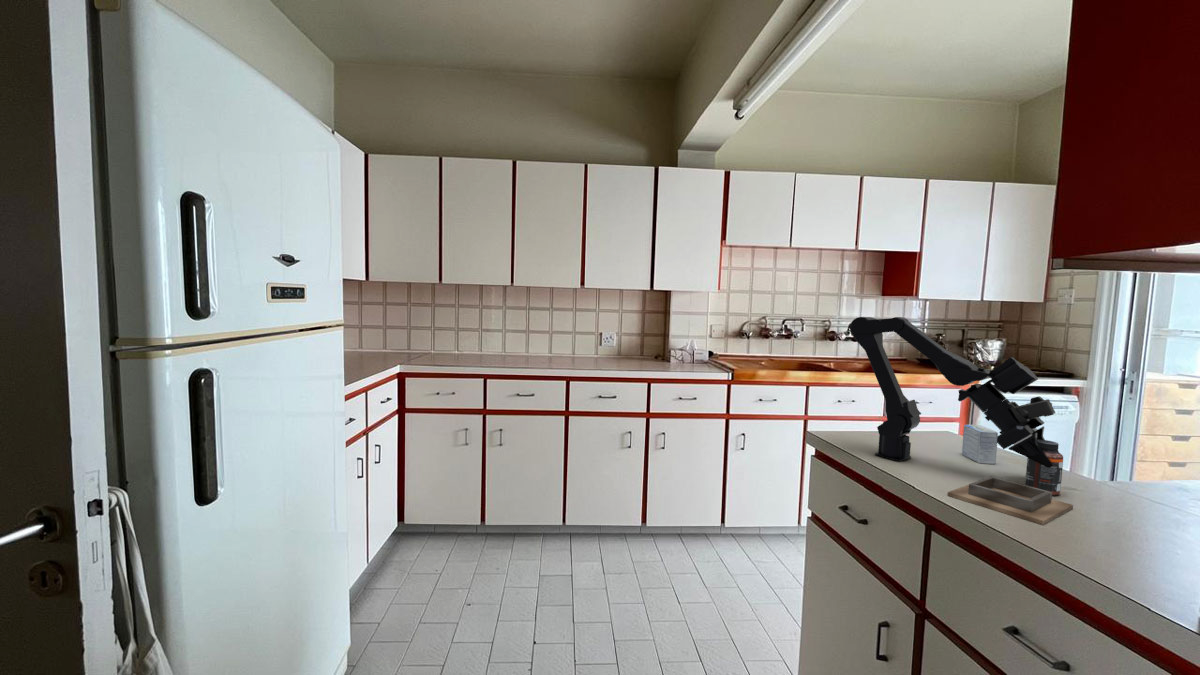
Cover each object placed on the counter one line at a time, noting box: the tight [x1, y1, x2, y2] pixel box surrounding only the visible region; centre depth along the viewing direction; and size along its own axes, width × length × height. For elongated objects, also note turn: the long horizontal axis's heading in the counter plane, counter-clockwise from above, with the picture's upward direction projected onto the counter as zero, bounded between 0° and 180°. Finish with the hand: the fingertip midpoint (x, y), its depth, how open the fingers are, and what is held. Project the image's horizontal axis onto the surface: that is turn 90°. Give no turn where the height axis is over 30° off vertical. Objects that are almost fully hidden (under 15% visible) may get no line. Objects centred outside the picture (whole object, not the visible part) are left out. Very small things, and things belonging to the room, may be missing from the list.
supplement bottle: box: [1024, 439, 1064, 496], centre depth 111 cm, size 6×6×11 cm
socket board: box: [947, 475, 1074, 526], centre depth 104 cm, size 16×16×3 cm
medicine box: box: [961, 424, 999, 465], centre depth 134 cm, size 8×4×9 cm, turn 170°
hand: (1053, 464), depth 110 cm, fingers closed on supplement bottle, 6 cm apart
